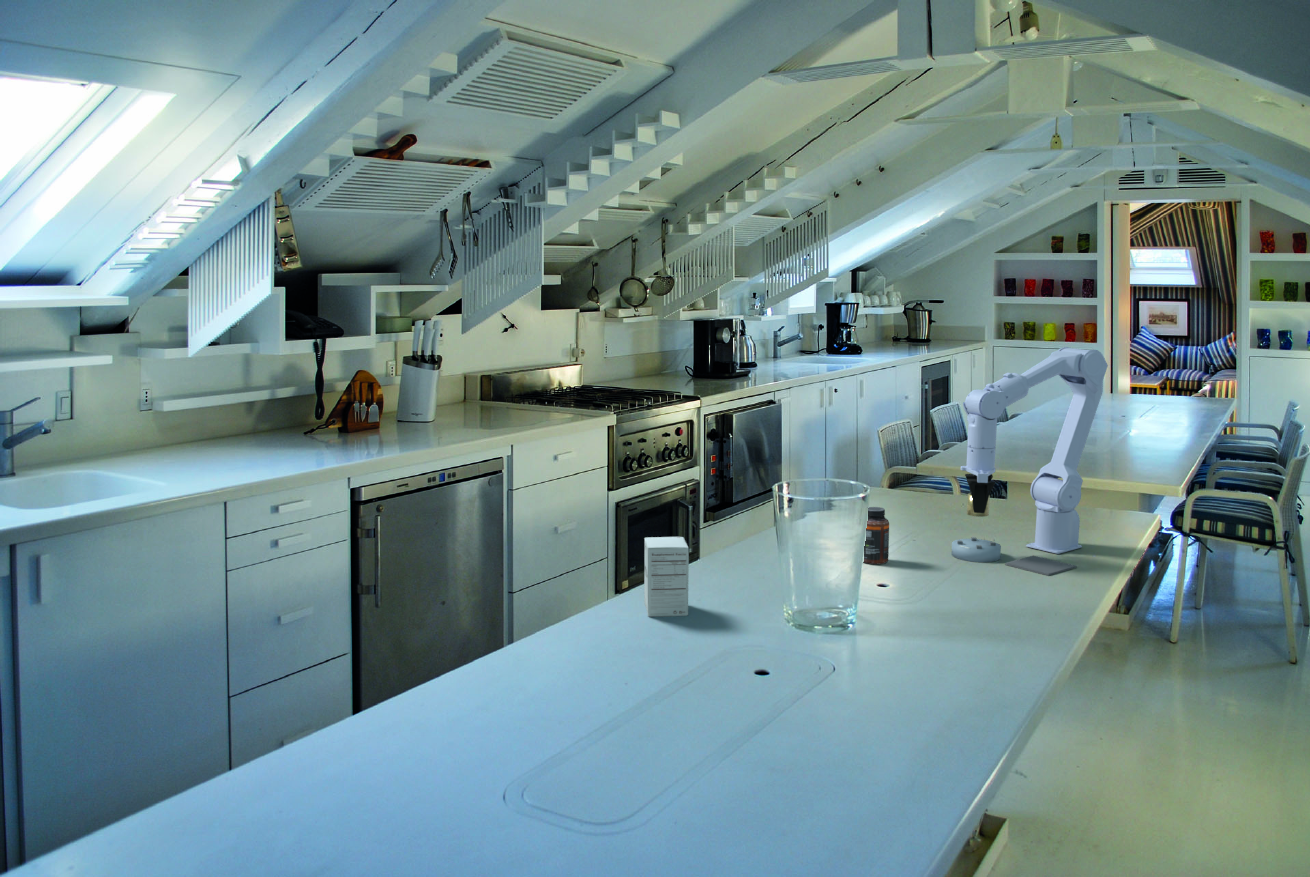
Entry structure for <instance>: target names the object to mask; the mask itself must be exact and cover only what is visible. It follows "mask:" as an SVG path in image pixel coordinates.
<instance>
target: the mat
mask: <svg viewBox="0 0 1310 877" xmlns="http://www.w3.org/2000/svg"><path fill="white" fill-rule="evenodd" d="M1004 565H1005V566H1009V567H1013V568H1015V569H1016V568H1017V569H1019V570H1020V569H1021V570H1024V571H1028V572H1032V573H1036V574H1040V575H1043V576H1048V577H1049V576H1052V575H1057V574H1060V573H1063V572H1066V571H1070V570H1073V569H1076V568H1077V565H1075V564H1071V563H1067V562H1062V561H1058V560H1054V559H1050V558H1046V557H1041V556H1037V555H1030V556H1027V557H1023V558H1019V559H1015V560H1011V561H1008V562H1005V564H1004Z"/></svg>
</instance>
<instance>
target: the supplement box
mask: <svg viewBox="0 0 1310 877" xmlns="http://www.w3.org/2000/svg"><path fill="white" fill-rule="evenodd" d="M689 550H690V548H689V546H688V543H687V541H686V540H685V537H684V536H661V537H659V536H657V537H656V536H655V537H653V536H651V537H648V536H647V537H644V570H643V571H644V573H643V574H644V577H643V578H644V589H643V590H644V592H643V594H644V600H643V602H644V606H645V609H646V613H647V617H656V618H657V617H686V616H689V570H690V569H689V568H690V566H689V562H690V561H689V560H690V559H689V558H690V557H689Z"/></svg>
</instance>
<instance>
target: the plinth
mask: <svg viewBox="0 0 1310 877" xmlns="http://www.w3.org/2000/svg"><path fill="white" fill-rule="evenodd" d="M1001 549H1002V546H1001V544H1000V543H999V542H998V543H997V542H996V541H992V540H986V539H979V538H977V537H975V536H974V537H973V536H971V538H960V539H955V540H953V541H952V542H951V556H952V557H953V558H955V559H958V560H960V561H961V560H962V561H966V562H975V563H991V562H996V561H1000V559H1001Z"/></svg>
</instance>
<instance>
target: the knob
mask: <svg viewBox="0 0 1310 877" xmlns="http://www.w3.org/2000/svg"><path fill="white" fill-rule="evenodd" d="M990 499H991V495H989V498H988V502H987V506H986V510H985V512H984V513H974V510H973V504H972V495H971V492H970V491H969V493H967V501H966V503H967V504H966V515H968V516H971V517H979V518H981V517H982V518H984V517H989V515H990Z"/></svg>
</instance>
